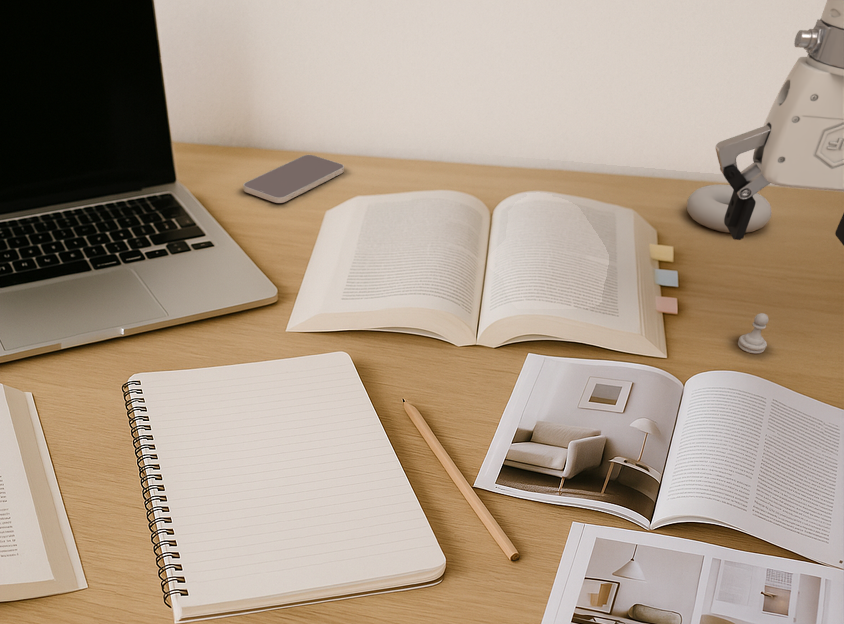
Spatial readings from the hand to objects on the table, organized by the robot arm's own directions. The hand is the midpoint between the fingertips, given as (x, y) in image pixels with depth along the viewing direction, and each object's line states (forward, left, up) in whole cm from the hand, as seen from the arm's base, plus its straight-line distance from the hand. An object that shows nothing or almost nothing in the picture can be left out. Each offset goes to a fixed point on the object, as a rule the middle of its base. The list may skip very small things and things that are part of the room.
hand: (788, 237), depth 78 cm
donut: (-5, -30, -13) cm, 33 cm away
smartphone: (+53, -33, -13) cm, 63 cm away
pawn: (0, 0, -13) cm, 13 cm away
